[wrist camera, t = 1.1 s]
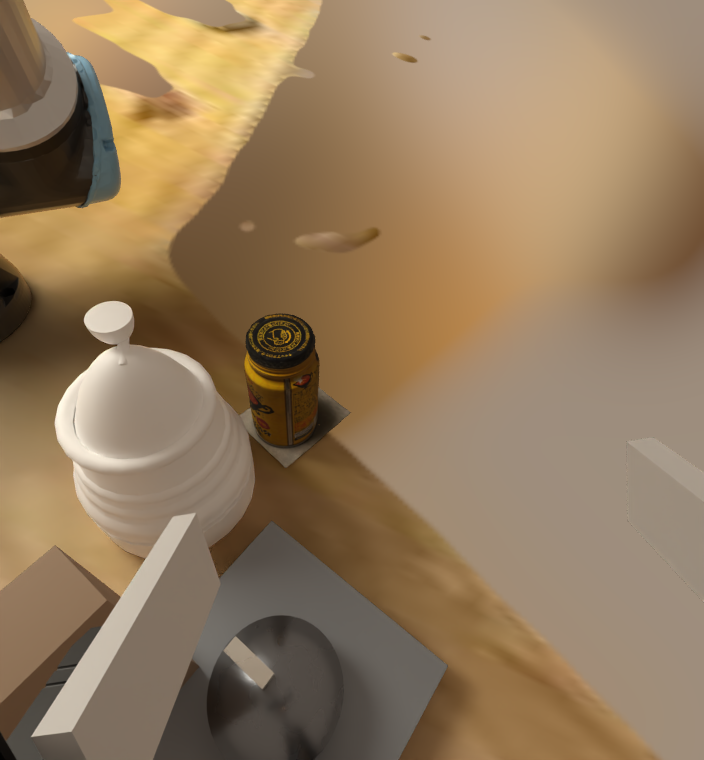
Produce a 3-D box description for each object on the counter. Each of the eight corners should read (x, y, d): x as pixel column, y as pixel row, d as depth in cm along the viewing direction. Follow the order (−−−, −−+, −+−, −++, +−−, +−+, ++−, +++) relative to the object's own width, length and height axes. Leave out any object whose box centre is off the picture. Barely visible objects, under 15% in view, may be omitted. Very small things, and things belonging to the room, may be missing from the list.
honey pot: (95, 439, 42) (-13, 284, 27) (239, 406, 45) (209, 253, 31) (100, 584, 34) (-42, 474, 20) (270, 530, 38) (251, 405, 24)
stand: (38, 792, 27) (-324, 863, 12) (273, 529, 38) (251, 379, 22) (233, 1058, 22) (63, 1833, 6) (441, 669, 33) (568, 603, 17)
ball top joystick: (164, 733, 28) (45, 728, 15) (274, 597, 33) (256, 505, 20) (327, 918, 24) (356, 1127, 11) (424, 731, 29) (521, 723, 16)
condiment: (234, 419, 44) (215, 332, 35) (299, 372, 48) (299, 282, 39) (285, 469, 41) (280, 389, 32) (350, 414, 45) (363, 329, 36)
